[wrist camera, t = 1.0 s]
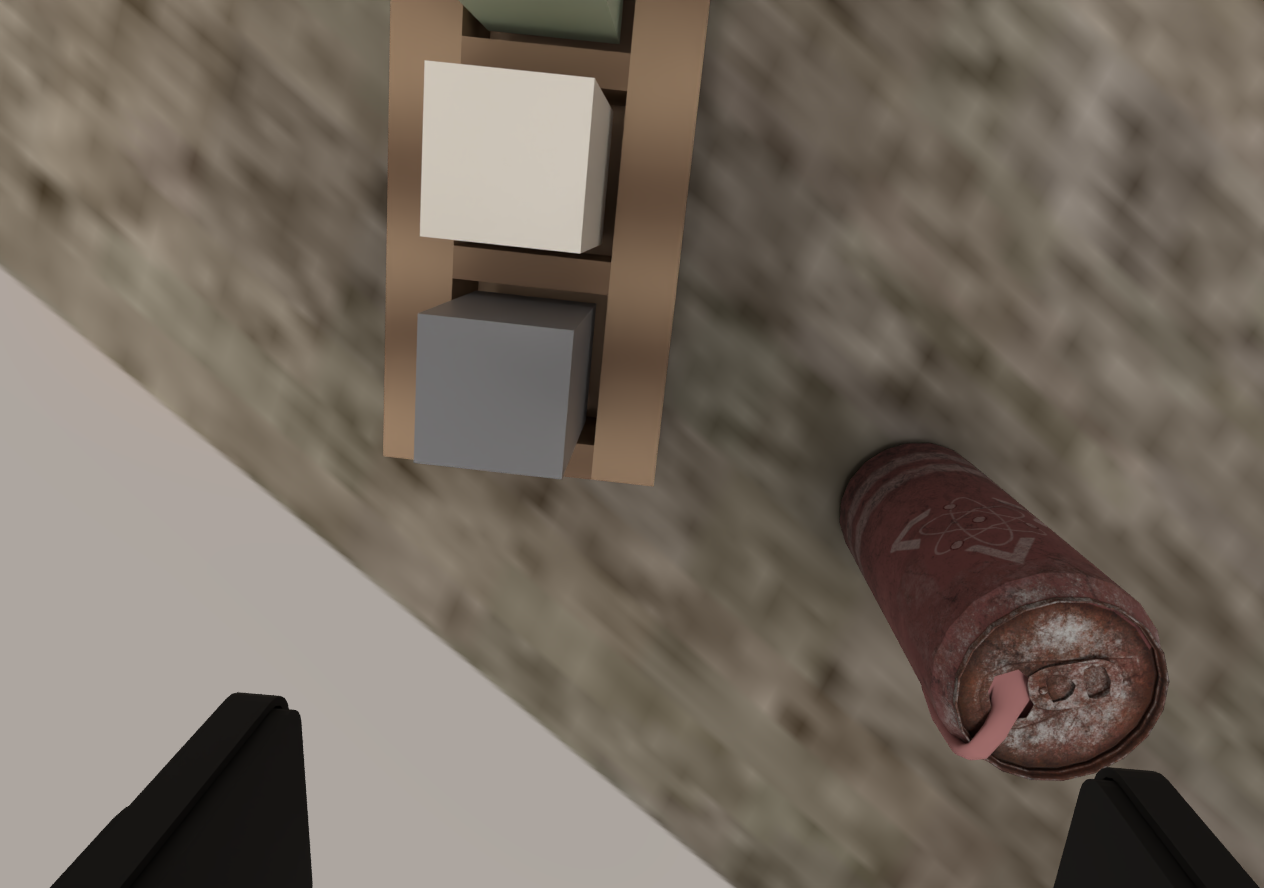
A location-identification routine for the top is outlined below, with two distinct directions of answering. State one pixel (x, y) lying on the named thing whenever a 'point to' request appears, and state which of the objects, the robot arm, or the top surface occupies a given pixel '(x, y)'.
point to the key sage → (552, 18)
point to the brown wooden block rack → (605, 275)
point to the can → (1002, 619)
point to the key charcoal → (502, 383)
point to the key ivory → (514, 157)
